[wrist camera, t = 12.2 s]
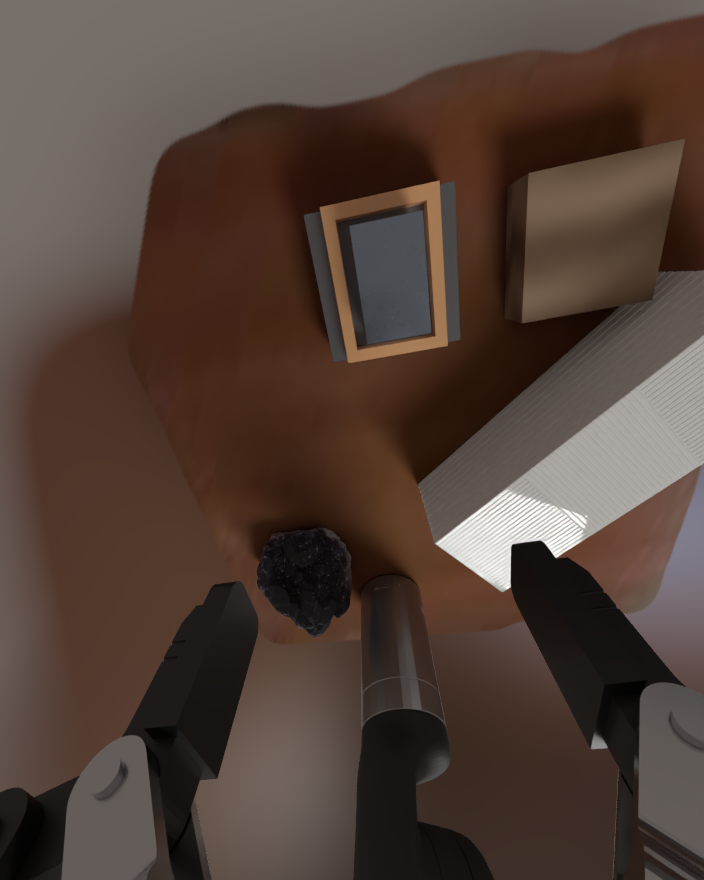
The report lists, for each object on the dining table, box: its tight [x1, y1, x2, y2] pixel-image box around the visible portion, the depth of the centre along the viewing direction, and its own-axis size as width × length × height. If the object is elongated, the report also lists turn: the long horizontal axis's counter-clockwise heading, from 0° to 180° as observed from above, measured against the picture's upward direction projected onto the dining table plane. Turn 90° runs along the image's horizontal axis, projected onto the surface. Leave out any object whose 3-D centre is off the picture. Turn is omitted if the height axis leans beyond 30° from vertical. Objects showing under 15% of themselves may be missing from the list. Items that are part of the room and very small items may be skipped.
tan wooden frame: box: [304, 181, 460, 363], centre depth 30 cm, size 12×12×6 cm
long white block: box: [418, 271, 704, 592], centre depth 34 cm, size 32×11×11 cm, turn 140°
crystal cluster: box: [257, 528, 352, 637], centre depth 45 cm, size 14×14×10 cm
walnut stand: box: [504, 139, 685, 323], centre depth 29 cm, size 11×11×4 cm
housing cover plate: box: [349, 210, 431, 344], centre depth 25 cm, size 5×8×2 cm, turn 10°
